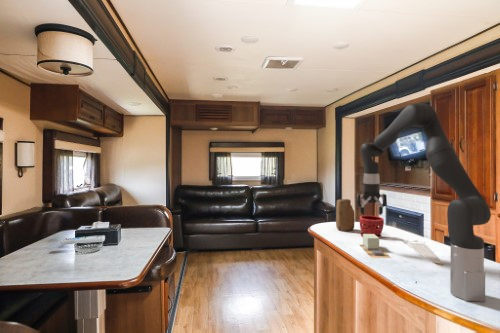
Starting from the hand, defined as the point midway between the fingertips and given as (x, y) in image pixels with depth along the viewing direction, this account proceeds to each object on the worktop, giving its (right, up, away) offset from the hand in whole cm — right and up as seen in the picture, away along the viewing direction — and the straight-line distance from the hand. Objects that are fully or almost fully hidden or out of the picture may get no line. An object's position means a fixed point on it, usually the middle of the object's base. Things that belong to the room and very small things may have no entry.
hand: (371, 214), depth 151 cm
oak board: (-1, -19, -4) cm, 19 cm away
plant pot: (+10, -18, +25) cm, 32 cm away
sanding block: (0, -17, 0) cm, 17 cm away
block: (+1, -17, +44) cm, 47 cm away
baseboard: (+23, -19, -5) cm, 30 cm away
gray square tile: (-1, -17, -10) cm, 20 cm away
